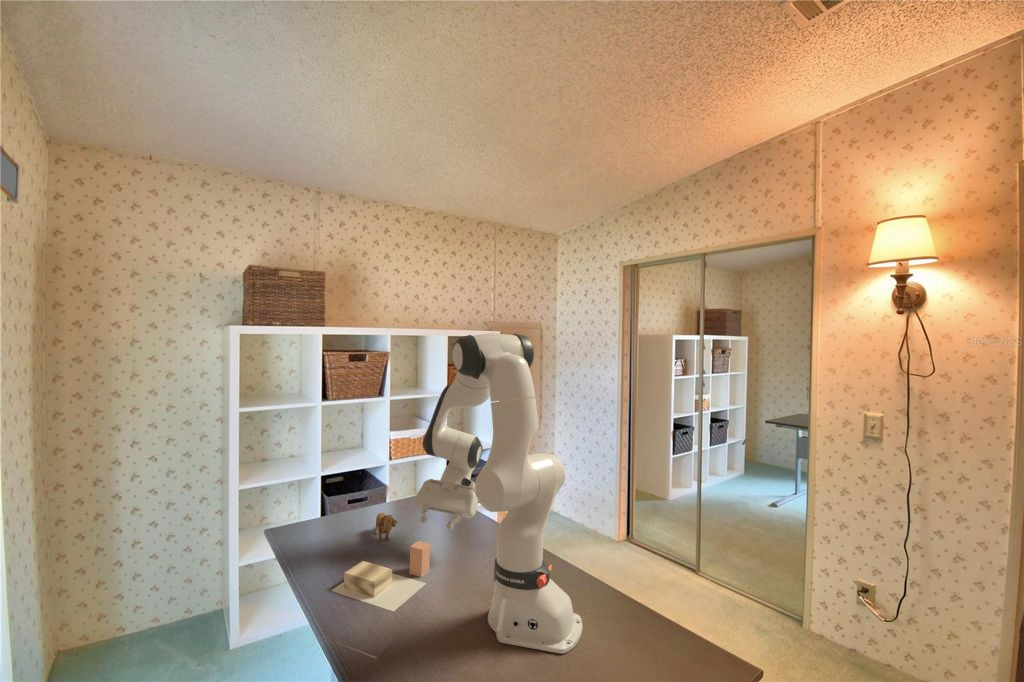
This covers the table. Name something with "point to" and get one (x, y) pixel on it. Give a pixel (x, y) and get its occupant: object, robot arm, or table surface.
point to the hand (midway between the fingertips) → (435, 525)
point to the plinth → (368, 578)
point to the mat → (386, 593)
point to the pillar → (419, 558)
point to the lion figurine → (384, 525)
